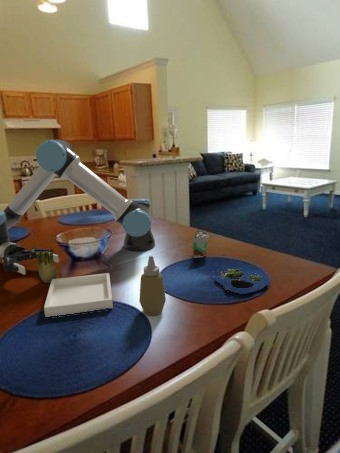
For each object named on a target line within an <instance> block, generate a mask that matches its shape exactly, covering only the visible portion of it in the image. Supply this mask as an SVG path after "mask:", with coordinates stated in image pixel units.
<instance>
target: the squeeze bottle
mask: <svg viewBox="0 0 340 453" xmlns="http://www.w3.org/2000/svg"><path fill="white" fill-rule="evenodd" d="M163 277H164V276H163V274H162V273H161V272H160V266H158V265H156V262H155V259H154V256H153V255H150V256H148V261H147V265H146V266H144V267H143V273H142V274H141V276H140V286H139V287H140V288H139V299H138V301H139V304H140V306H141V308H142V309H141V310H143V313H144V314H145V315H147V316H157V315H160V314H161V313H162V312H163V310H164V306H165V305H166V300H167V299H166V297H167V296H166V290H165V284H164V283H165V282H164V278H163Z"/></svg>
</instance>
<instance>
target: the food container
mask: <svg viewBox="0 0 340 453" xmlns="http://www.w3.org/2000/svg"><path fill="white" fill-rule="evenodd" d="M195 231H196V232H195V234H194V237H192V239H193V240H192V245H193V246H192V250H193V251H192V253H193V257H199V256H204V255H205V254H206V255H207V248H208V241H209V239H210V237H209V233H208V232H207V231H205V230H201V229H196V230H195Z"/></svg>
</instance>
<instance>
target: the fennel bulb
mask: <svg viewBox="0 0 340 453" xmlns="http://www.w3.org/2000/svg"><path fill="white" fill-rule="evenodd" d="M53 252H54V251H53ZM53 252H49V251H46V258H45V252H42V253H41V256H40V253H36V256H37V258H36V259H37V270H38V275H39V277H40V279H41V281H42V282H43V283H44V284H51V281H52V279H58V274H57V269H56V266H55V261H53ZM41 257H42V258H41Z"/></svg>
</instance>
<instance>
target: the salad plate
mask: <svg viewBox="0 0 340 453" xmlns="http://www.w3.org/2000/svg"><path fill="white" fill-rule="evenodd" d="M239 269H240V268H235V269H233V268H232V269H230V268H227V271H226V272H227V273H225V275H224V273H223V271H221V272H220V273H221V276H222V279H223V280H225V277H228V278H231V279H239V277H241V276H242V275H244V273H243V272H242V271H240V270H239ZM259 276H260V275H258V276H256V275H253V276H252V275H251V276H250V277H249V279H252V281H261V280H260V279H261V278H260V277H259ZM231 285H232V286H233V287H236V288H249V287H252V286H253V285H254V284H253V283H250V282H246V281H245V280H243V279H239V280H231ZM225 288H226V287H225ZM225 288H224V289H225ZM226 290H227V289H225V291H226Z"/></svg>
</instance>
